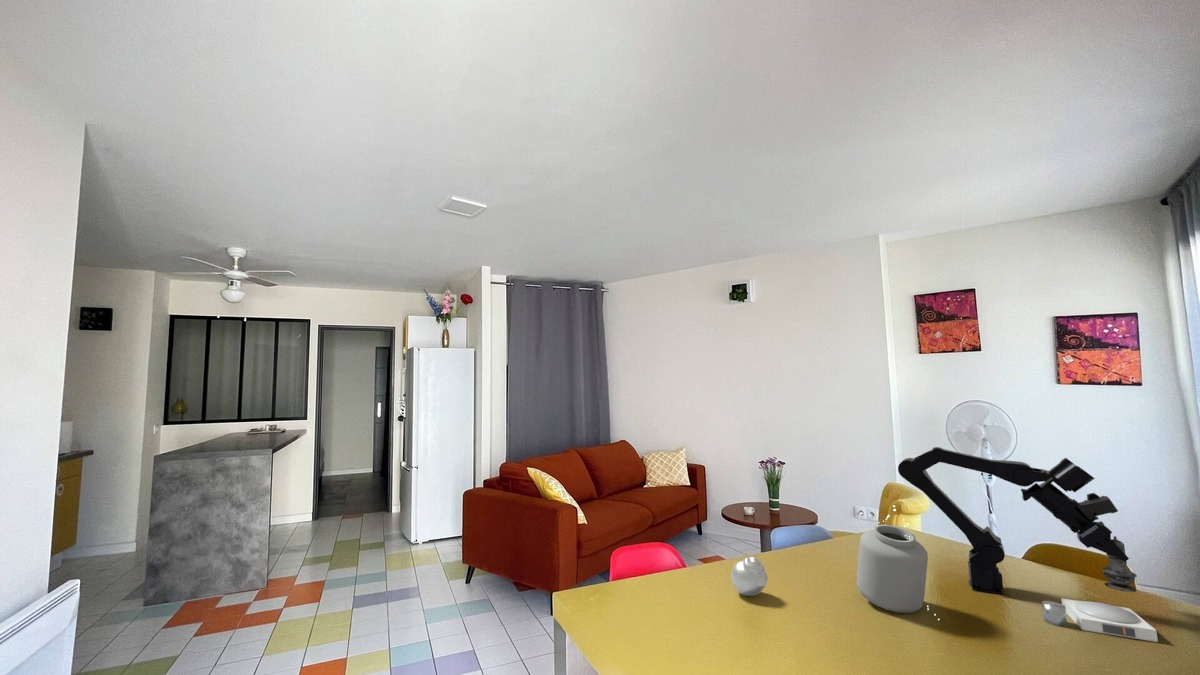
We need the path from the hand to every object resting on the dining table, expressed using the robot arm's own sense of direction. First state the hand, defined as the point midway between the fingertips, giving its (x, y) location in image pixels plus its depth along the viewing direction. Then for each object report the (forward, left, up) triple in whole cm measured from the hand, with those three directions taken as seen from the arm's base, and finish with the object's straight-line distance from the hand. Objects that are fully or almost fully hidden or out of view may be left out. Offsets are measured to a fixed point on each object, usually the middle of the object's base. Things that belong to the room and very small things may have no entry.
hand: (1125, 557), depth 117 cm
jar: (-49, -20, -13) cm, 55 cm away
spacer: (-17, -13, -13) cm, 25 cm away
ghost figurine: (-83, -29, -13) cm, 89 cm away
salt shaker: (-1, 0, -7) cm, 8 cm away
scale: (-7, -9, -13) cm, 17 cm away
